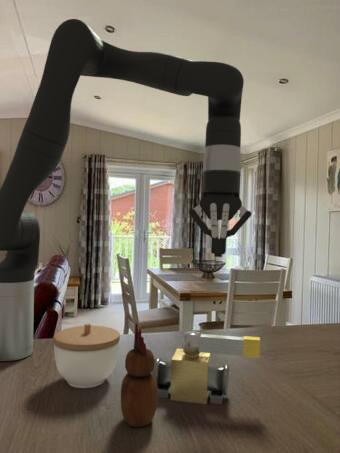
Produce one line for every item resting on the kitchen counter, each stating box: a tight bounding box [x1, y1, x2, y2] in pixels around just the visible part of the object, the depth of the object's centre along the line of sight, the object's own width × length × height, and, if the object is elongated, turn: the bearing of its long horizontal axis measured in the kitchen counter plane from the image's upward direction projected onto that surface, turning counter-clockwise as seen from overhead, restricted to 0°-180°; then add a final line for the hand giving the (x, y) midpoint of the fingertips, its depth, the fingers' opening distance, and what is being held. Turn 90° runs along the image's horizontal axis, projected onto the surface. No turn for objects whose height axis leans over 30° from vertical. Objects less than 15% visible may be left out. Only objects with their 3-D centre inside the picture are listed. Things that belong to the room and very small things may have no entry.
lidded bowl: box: [53, 323, 121, 389], centre depth 75 cm, size 13×13×11 cm
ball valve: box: [151, 348, 230, 405], centre depth 70 cm, size 14×6×8 cm, turn 79°
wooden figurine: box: [120, 322, 158, 428], centre depth 60 cm, size 7×6×15 cm
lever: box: [182, 330, 261, 359], centre depth 69 cm, size 14×3×3 cm, turn 80°
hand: (218, 256), depth 77 cm, fingers closed
